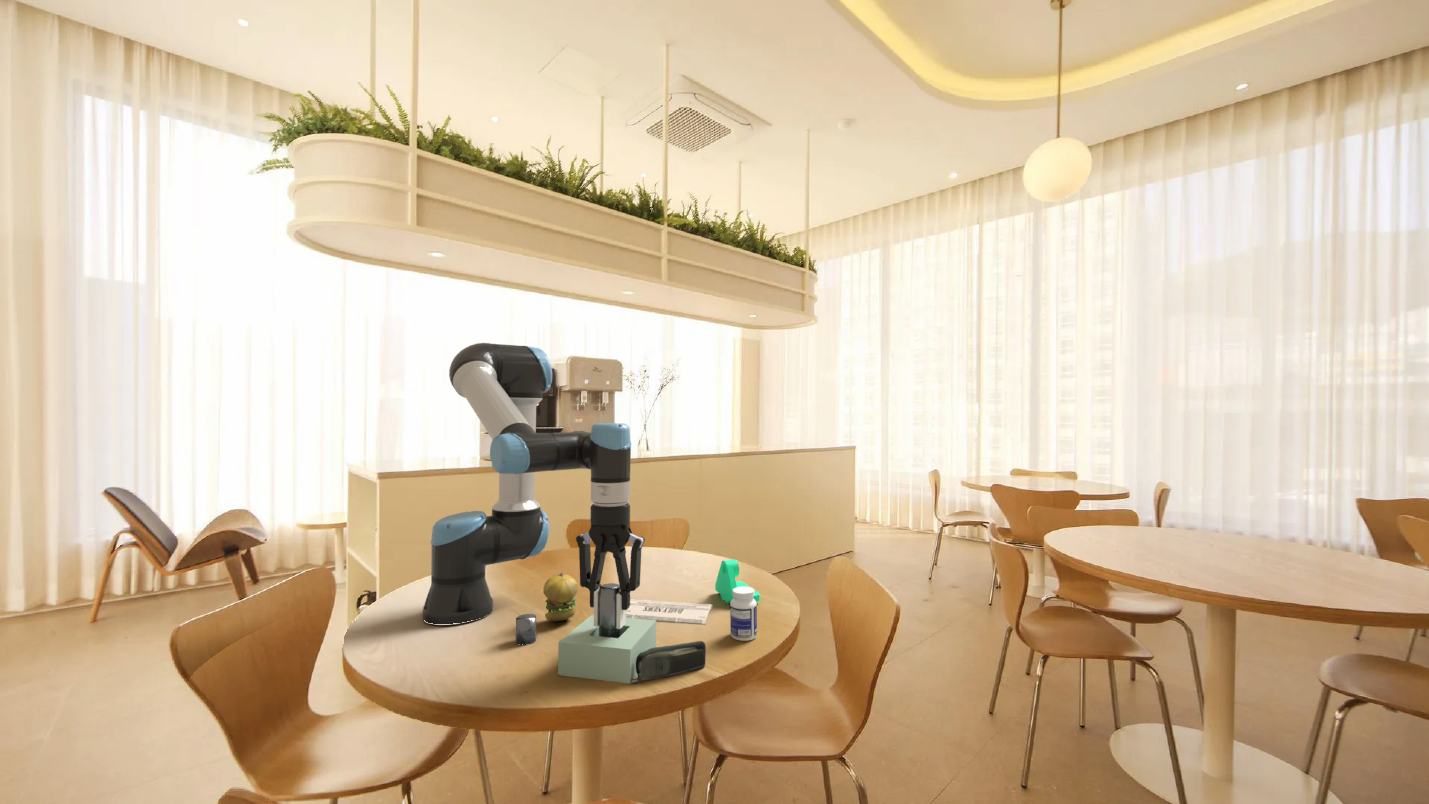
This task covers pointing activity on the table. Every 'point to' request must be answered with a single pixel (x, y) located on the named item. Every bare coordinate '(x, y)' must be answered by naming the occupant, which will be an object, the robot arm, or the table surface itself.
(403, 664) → the table surface
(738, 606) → the pill bottle
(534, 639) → the short pin
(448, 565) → the robot arm
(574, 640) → the guide block
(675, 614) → the newspaper
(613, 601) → the long pin
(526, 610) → the table surface
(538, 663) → the table surface
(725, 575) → the camera mount
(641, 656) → the mobile phone
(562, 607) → the hamburger
